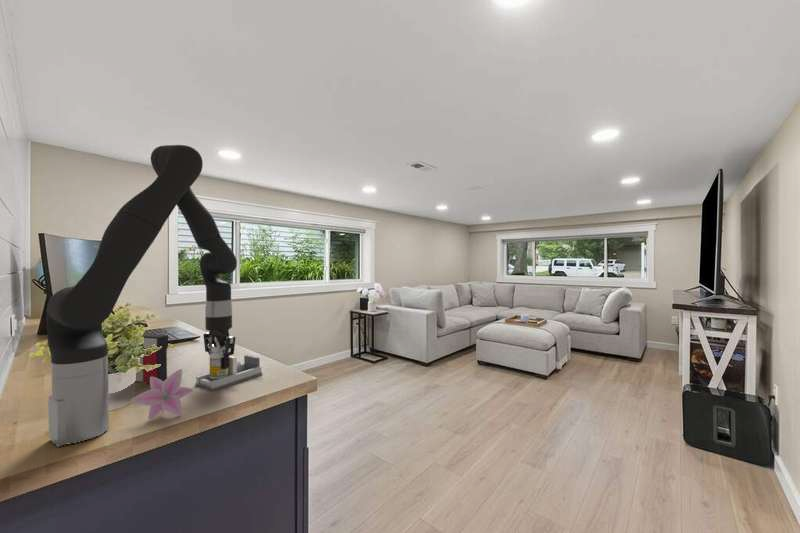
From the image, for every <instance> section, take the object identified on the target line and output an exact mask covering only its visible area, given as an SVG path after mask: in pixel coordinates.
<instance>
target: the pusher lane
mask: <svg viewBox="0 0 800 533" xmlns="http://www.w3.org/2000/svg"><path fill="white" fill-rule="evenodd" d="M243 360H244V361H243V362H244V363H241V368H239V369H237V373H236V374H233V375H230V376H227V377H223V378H219V379H212V378H210V372H208V373H204V374H200V375H198V376H195V379H196V381H195V383H194V384H195V385H196V386H198V387H201V388H204V389H207V390H210V391H213V392H214V391H218V390H220V389H221V390H222V389H223V388H226V387H229V386H232V385H235V384H238V383H242V382H244V381H247V380H250V378H251V379H253V377H254V378H256V376H257V377H259V376H258V375H260V376H262V375H263V372H262V366H260V361H261V360H260V357H257V356H253V355H249V354H245V355H244V357H243ZM261 374H262V375H261Z"/></svg>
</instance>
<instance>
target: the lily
mask: <svg viewBox="0 0 800 533" xmlns="http://www.w3.org/2000/svg"><path fill="white" fill-rule="evenodd" d="M182 376H183V369H182V368H181V369H180V368H179V369H178V370H176V371H174V372H173V373H172V374H170V375H169V376H167V379H166V380H165V381H162V380H160V379H158V378H155V377H150V383H149V386H150V389H148V390H145V391H144V392H142V393H139V394H138V395H136V396H135V397H133V398H131V399H130V402H131V403H132V404H137V405H141V406H142V405H143V406H150V407H149V411H148V417H147V418H148V421H149V420H150V421H152V420H153V419H155V418H156V417H157V416H159V414H161V413H162V412H163V411H165V412H168V413H170V414H172V415H174V416H178V417H181V416H182V415H183V405H182V400H181V399H182V398H184V397H186V396H188V395H190V394H191V393H193V392H194V391H195V389H193V388H191V387H185V386H181V385H182V379H183V378H182Z"/></svg>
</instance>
